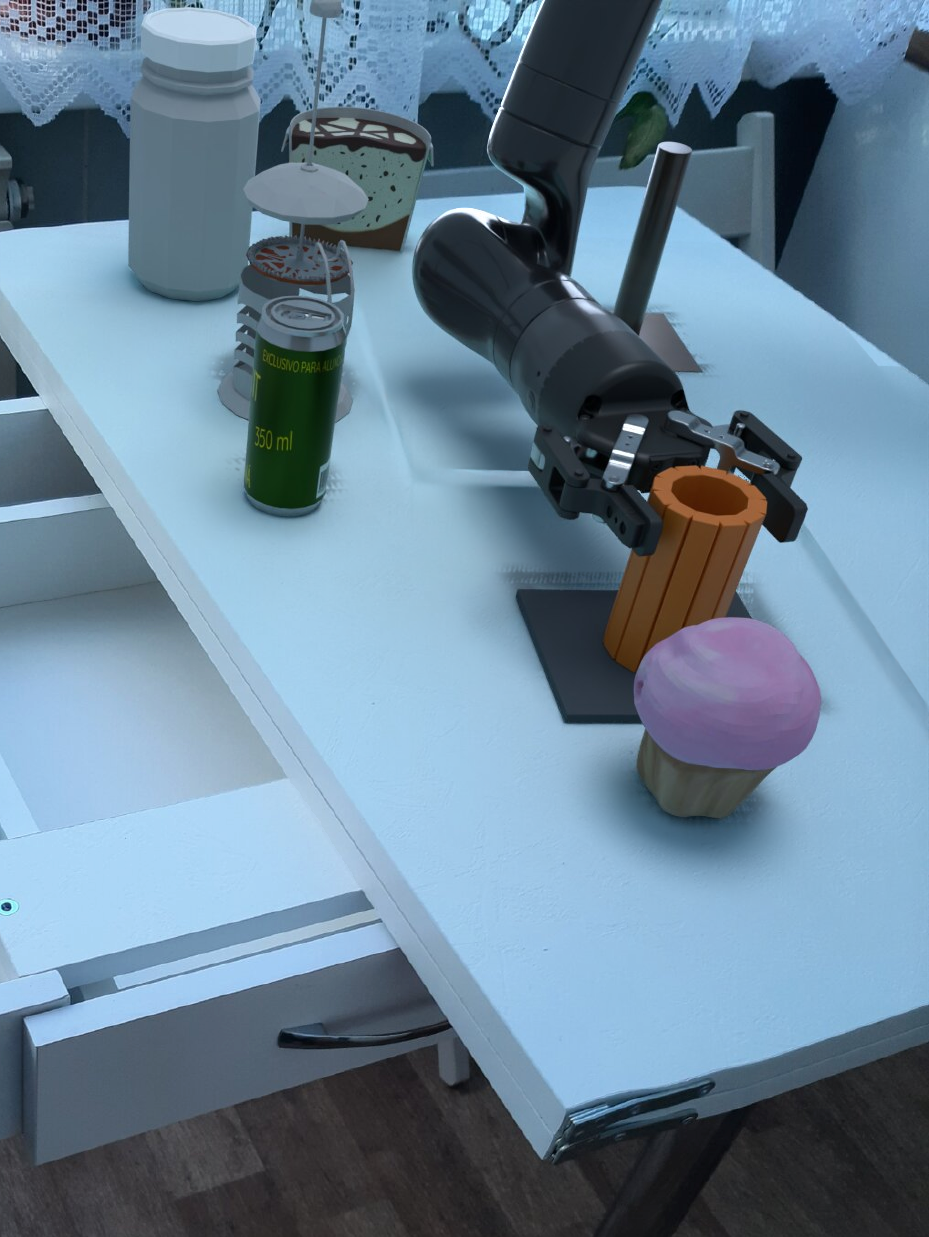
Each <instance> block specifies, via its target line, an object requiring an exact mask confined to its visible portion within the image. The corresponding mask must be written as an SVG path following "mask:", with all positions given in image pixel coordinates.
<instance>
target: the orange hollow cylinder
mask: <svg viewBox="0 0 929 1237" xmlns="http://www.w3.org/2000/svg"><path fill="white" fill-rule="evenodd" d="M646 501H647V502H648V503H649V504H650V506H651V507H652V508H653V509H654V510H655V511H656V513H657V514H658V515H659V516H660V517H661V519H662V522H663V529H662V532H661V535H660V539H659V542H658V545H657V548H656V551H655V553H654V554H653V555H651V556H641V557H639V556H637V555H636V553H635V552H634V551H633V550H632V549H631V548H630V552H629V555H628V559H627V561H626V565H625V568H624V571H623V574H622V576H621V577H622V578H621V579H620V584H619V587H618V589H617V590H618V593H617V596H616V599H615V602H614V605H613V608H612V612H611V615H610V618H609V621H608V624H607V627H606V630H605V635H604V639H603V643H604V646H605V648H606V649H607V651H608V652H609V654H610V655H611V657H612V658H613V659H616V662H617V663H619V664H621V665H622V666H624V667H625V668H627V669H629V670H630V671H632V672H634V673H635V672H637V670H638V668H639V666H640V663H641V661H642V659H643V658H644V656H645V655H646V654H647V652H648V651H649V650H650V649H651V648H653V647H654V646H655V645H656V644H657V643H659V642H660V641H662V640H664V639H667V638H668V637H670V636H671V635H673V634H675V633H676V632H678V631H679V630H681V629H683V628H685V627H689V626H693V625H699V624H701V623H703V622H706V621H708V620H711V619H717V618H725V617H726V615H727V612H728V610H729V607H730V604H731V602H732V599H733V597H734V594H735V592H737V589H738V587H739V584H740V581H741V579H742V576H743V574H744V571H745V569H746V567H747V563H748V561H749V558H750V556H751V555H752V554H751V553H752V551H753V548H754V547H755V543H756V541H757V538H758V536H759V534H760V530H761V528H762V526H763V525H762V523H763V521H764V518H765V516H766V510H767V501H766V498H765V497H764V496H763V494H762V493H761V492H760V491H759V490H758V489H757V488H756V486H754V485H751V483H750V481H749V480H746V479H744V478H743V477H740V476H738V475H736V474H735V473H734V474H732V473H729V474H727V475H726V471H724V470H719V469H717V468H715V467H714V468H713V467H711V466H706V465H705V466H701V467H700V468H699V467H698V466H677V467H675V468H672V467H671V468H669V469H667V470H665V471H663V472H661V473H659V474H657V476H656V477H655V478H654V481H653V484H652V487H651V490H650V493H648V496H647V499H646Z"/></svg>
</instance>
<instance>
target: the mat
mask: <svg viewBox="0 0 929 1237" xmlns="http://www.w3.org/2000/svg"><path fill="white" fill-rule="evenodd" d="M618 590H619V589H567V588H566V589H564V588H563V589H561V588H560V589H559V588H557V589H556V588H555V589H552V588H517V590H516V594H515V599H516V602H517V604H518V607H519V609H520V612H521V614H522V617H523V620H524V622H525V625H526V627H527V629H528V632H529V635H530V637H531V640H532V642H533V645H534V647H535V649H536V652H537V655H538V658H539V660H540V663H541V665H542V668H543V671H544V673H545V676H546V678H547V680H548V683H549V686H550V688H551V691H552V693H553V696H554V699H555V702H556V704H557V705H558V709H559V711H560V714H561V716H562V719H563V722H564V723H567V724H569V723H570V724H574V723H575V724H576V723H577V724H579V723H580V724H581V723H582V724H584V723H585V724H587V723H588V724H590V723H592V724H593V723H594V724H596V723H597V724H598V723H599V724H600V723H601V724H602V723H603V724H604V723H611V724H612V723H615V724H617V723H620V724H622V723H623V724H625V723H630V724H631V723H635V724H636V723H637V724H639V723H640V724H641V723H642V721H641V719H640V717H639V714H638V712H637V709H636V707H635V704H634V680H635V676H636V673H637V672H635V673H634V672H632V671H630V670H629V669H627V668H625V667H624V666H622V665H621V664H619V663H617V662H616V659H613V658H612V657H611V655H610V654H609V652H608V651H607V649H606V648H605V646H604V643H603V639H604V635H605V630H606V627H607V624H608V621H609V618H610V615H611V612H612V608H613V605H614V602H615V599H616V596H617V593H618ZM727 617H734V618H750V619H753V618H752V616H751V614H750V613H749V611H748V609H747V607H746V605H745V603H744V601H743V600H742V599H741V597H740V595H739V594H738V591H736V592H735V594H734V597H733V599H732V602H731V604H730V607H729V610H728V612H727V615H726V617H725V618H727ZM642 724H643V723H642Z"/></svg>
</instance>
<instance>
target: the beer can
mask: <svg viewBox="0 0 929 1237" xmlns="http://www.w3.org/2000/svg"><path fill="white" fill-rule="evenodd" d="M332 303H333V302H331V303H329V302H327V300H324V299H321V298H317V297H312V296H306V295H299V296H283V297H279V298H274V299H272V300H270V301H268V302H266V303H265V304H264V306H263V307H262V312H261V314H262V316H261V318H260V319H259V321H258V323H257V325H256V337H255V349H254V362H253V374H252V386H251V398H250V410H249V420H248V425H247V435H246V436H247V437H246V449H245V460H244V470H243V471H244V472H243V489H244V492H245V494H246V497H247V499H248V500H249V502H250V504H251V505H252V506H254V507H255V508H256V509H257V510H259V511H261V512H264V513H266V514H269V515H273V516H277V517H290V518H291V517H300V516H304V515H307V514H311V512H313V511H314V510H316V509H317V508H318V507H319V505H320V503H321V502H322V500H323V499H324V497H325V495H326V494H327V486H328V478H329V471H330V464H331V455H332V448H333V441H334V433H335V425H336V422H335V418H336V411H337V403H338V395H339V388H340V380H341V381H342V379H341V372H342V365H343V366H344V364H343V357H344V358H345V356H344V349H345V350H346V347H345V342H346V332H345V328H344V314H343V312H342V311H341V310H340V309H339V308H338V307H336V306H335V305H333V304H332ZM346 343H347V342H346ZM342 373H343V372H342Z"/></svg>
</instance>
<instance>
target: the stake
mask: <svg viewBox="0 0 929 1237" xmlns="http://www.w3.org/2000/svg"><path fill="white" fill-rule="evenodd" d="M692 154H693V149H692V148H691V147H690V146H688V145H686V144H683V143H680V142H675V141H663V142H660V143H659V144H658V145H657V148H656V152H655V155H654V158H653V159H654V160H653V163H652V167H651V170H650V174H649V177H648V182H647V185H646V189H645V192H644V196H643V199H642V204H641V208H640V211H639V215H638V218H637V222H636V226H635V229H634V232H633V238H632V239H631V244H630V248H629V251H628V255H627V258H626V262H625V267H624V270H623V273H622V277H621V281H620V285H619V288H618V292H617V295H616V299H615V303H614V307H613V311H610V312H611V313H613V314H614V315H616V316H617V317H619V318H620V319H621V320H622V321H624V322H625V323H626V324H627V325H628V326H629V327H630V328H631V329H632V330H633V331H634V332H635V333H636V334H637V335H638V336H639V337H640V338H641V339H642V340H643V341H644V342H645V343H646V344H647V345H648V346H649V347H650V348H651V349H652V350H653V351H654V352H655V353H656V354H657V355H658V356H659V357H660V358H661V359H662V360H663V361H664V362H665V363H666V364H667V365H668V366H669V367H670V368H671V369H672V370H673V371H674V372H675V373H676V372H677V373H704V372H703V370H702V368H701V367H700V366H699V365H700V364H698V362H697V361H696V360H695V358H694V356H693V355H692V354H691V352H690V350H689V349H688V348H687V347H686V346H687V345H685V343H684V341H683V340H682V339H681V338H680V336H679V334H678V333H677V331H676V330H675V328H674V327H673V326H672V324H671V323H670V321H669V320H668V318H667V316H666V315H665V313H655V312H654V313H649V312H647V309H648V306H649V303H650V299H651V296H652V292H653V289H654V286H655V282H656V278H657V274H658V272H659V268H660V264H661V261H662V257H663V254H664V250H665V248H666V244H667V240H668V236H669V233H670V230H671V226H672V223H673V220H674V217H675V212H676V209H677V206H678V202H679V198H680V196H681V192H682V189H683V185H684V181H685V178H686V174H687V171H688V167H689V164H690V161H691V157H692Z"/></svg>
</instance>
